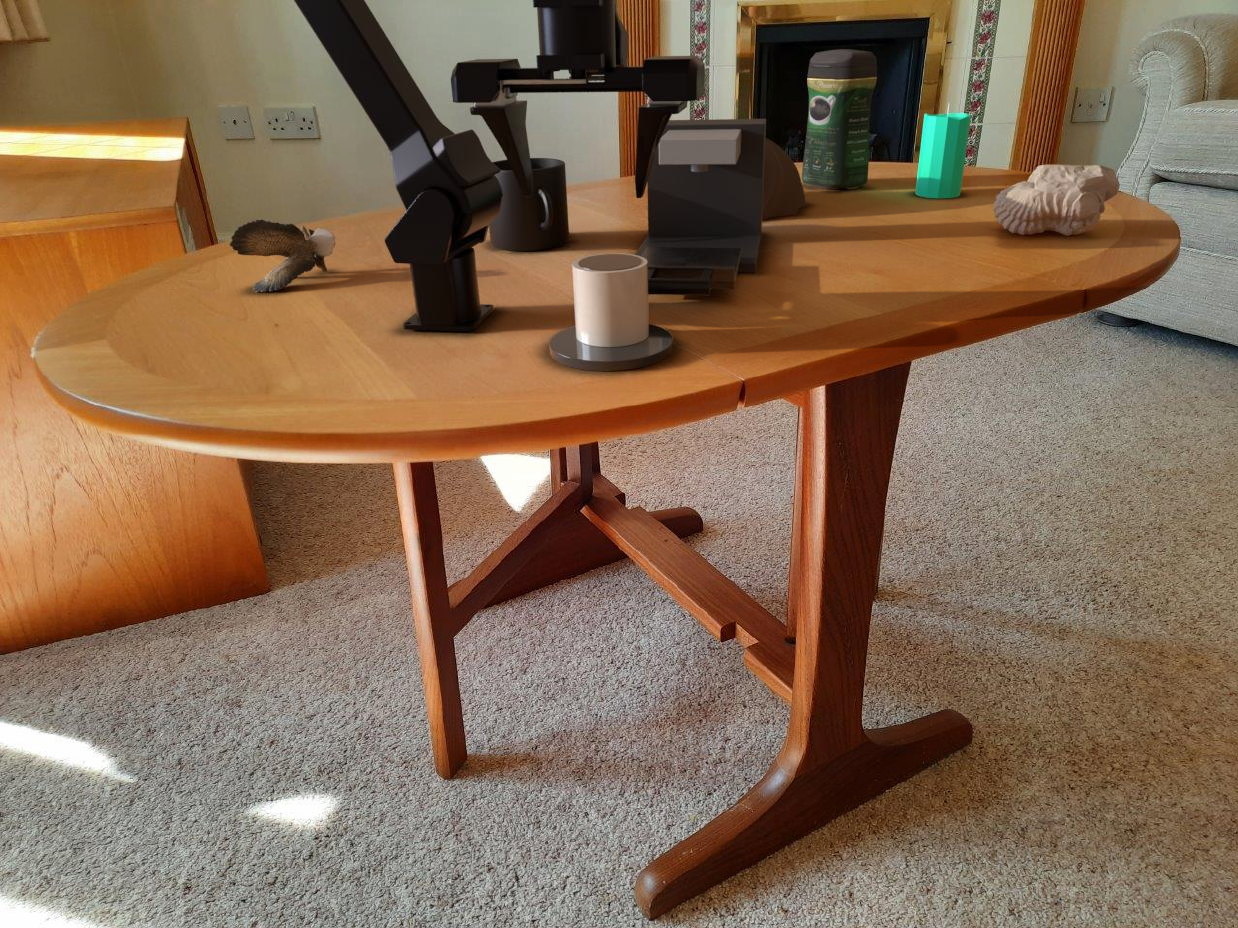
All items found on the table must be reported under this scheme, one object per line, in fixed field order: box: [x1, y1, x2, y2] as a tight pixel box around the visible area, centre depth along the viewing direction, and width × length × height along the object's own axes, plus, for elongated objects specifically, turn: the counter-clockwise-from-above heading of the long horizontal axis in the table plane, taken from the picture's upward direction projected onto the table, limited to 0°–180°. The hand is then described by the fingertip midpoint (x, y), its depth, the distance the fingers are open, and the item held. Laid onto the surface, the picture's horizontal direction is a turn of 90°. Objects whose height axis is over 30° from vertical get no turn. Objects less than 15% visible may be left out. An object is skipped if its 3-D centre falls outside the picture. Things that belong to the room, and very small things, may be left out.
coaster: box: [548, 323, 674, 372], centre depth 72 cm, size 10×10×1 cm
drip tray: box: [641, 247, 742, 296], centre depth 85 cm, size 18×10×2 cm, turn 170°
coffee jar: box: [801, 48, 878, 190], centre depth 129 cm, size 10×8×19 cm
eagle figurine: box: [228, 219, 336, 293], centre depth 93 cm, size 8×7×9 cm
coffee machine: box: [634, 118, 767, 274], centre depth 97 cm, size 18×13×13 cm
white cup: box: [571, 252, 650, 347], centre depth 71 cm, size 6×6×6 cm
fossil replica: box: [992, 163, 1121, 237], centre depth 100 cm, size 12×8×10 cm
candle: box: [914, 102, 972, 199], centre depth 122 cm, size 6×6×12 cm
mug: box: [488, 157, 570, 252], centre depth 103 cm, size 9×12×9 cm
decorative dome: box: [762, 137, 807, 221], centre depth 119 cm, size 19×20×10 cm
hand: (583, 196), depth 71 cm, fingers open, 9 cm apart
